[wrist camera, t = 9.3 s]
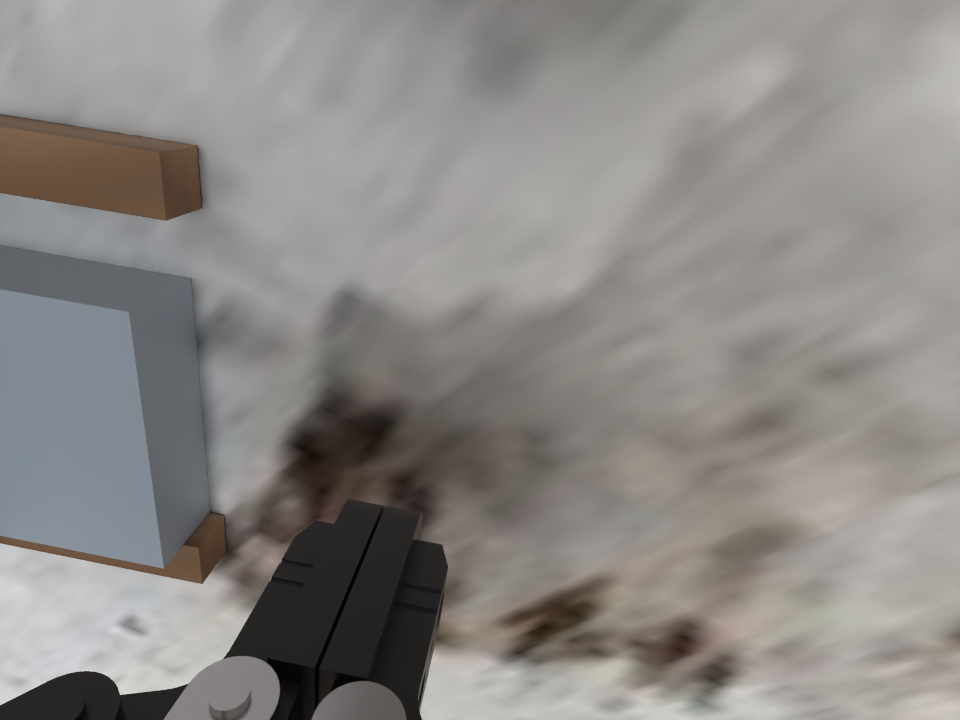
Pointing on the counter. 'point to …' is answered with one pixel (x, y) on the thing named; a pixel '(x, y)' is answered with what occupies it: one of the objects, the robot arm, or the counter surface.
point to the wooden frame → (124, 189)
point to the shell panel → (99, 408)
